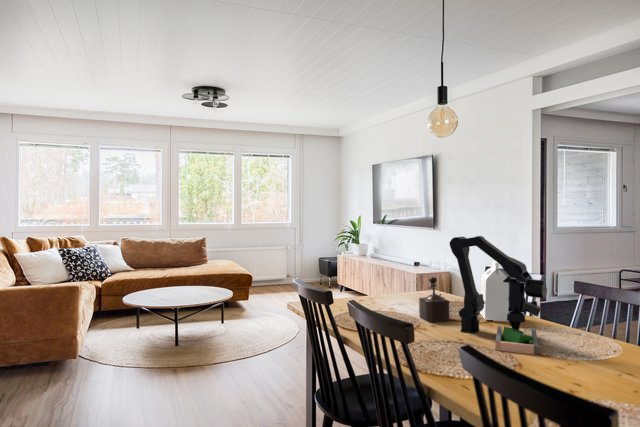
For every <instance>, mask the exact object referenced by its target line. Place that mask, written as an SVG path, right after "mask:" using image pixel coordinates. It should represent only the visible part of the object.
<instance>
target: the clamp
mask: <svg viewBox="0 0 640 427" xmlns="http://www.w3.org/2000/svg"><path fill="white" fill-rule="evenodd" d="M533 339H534V337H532V335H531V334H530V335H529V334H525V333H524V331H522V330H520V329H519V330H517V329H513V328H512V327H508V326H504V327H503V329H502V336H501V341H504V342H513V343H523V344H531V343H530V342H532V341H533Z"/></svg>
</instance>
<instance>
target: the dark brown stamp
mask: <svg viewBox="0 0 640 427" xmlns="http://www.w3.org/2000/svg"><path fill="white" fill-rule="evenodd" d="M428 281H429V283H430V286H429V287H427V289H428V290H432V294H430V295H428V296H425V297H419V298H418V306H419V307H418V309H419V310H418V311H419V319H421V320H424V321H425V322H427V323H442V322H444V323H445V322H450V300H448V299H446V298H445V297H444V296H442V294H441V293H440V294H437V293H436V287H437V284H436V283H437V282H438V280H437V277H435V276H434V277H433V276H432V277H430V278H429V279H428Z"/></svg>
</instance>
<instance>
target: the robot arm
mask: <svg viewBox="0 0 640 427" xmlns="http://www.w3.org/2000/svg"><path fill="white" fill-rule="evenodd" d="M449 247H450V250H451V253H452V254H453V256H455V259H456V260H457V265H458V269H459V272H460V276H461V281H462V286H463V290H464V295H463V307H462V308H461V309H460V310H458V315H459V317H460V318H461V320H460V321H461V322H460V324H461V325H460V332H461V333H462V332H463V333H471V334H477V333H478V331H480V319H479V318H478V316H479V315H480V311H482V310H483V308H484V304H485V302H484V300H483V294H481V293H480V292H478V291H477V287H476V283H475V280H474V276H473V270H472V267H471V263H470V262H471V261H470V258H469V257H470V256H469V255H470V250H471V249H470V247H477V248H478V249H479V250H481V251H482V252H483V253H485V255H488V257H490V258H492V260H493V261H496V262H498V263H499V266H500V267H501V268H502V270H503V271H504V272H505V273H506V274H507V275H508V276H507V278H506V279H505V280H503V282H506V283H509V297H508V301H509V306H508V312H509V313H508V314H507V321H506V322H508V321H509V322H508V323H509V324H510V328H513V329H517V330H520V326H521V324H522V323H526V314H525V313H529V314H531V315H533V316H535V317H538V316H539V314H540V312H541V310H542V308H541V306H540V305H538V302H537V300H531V301H527V300H526V297H525V296H527V297H530V298H539V299H546V297H547V293H548V287H547V284H546V280H545V279H535V278H534V279H533V277H532V276H531V275H530V273H529V272H528V269H527V265H526V263H524V262H522V261H520V260H518V259H516V258H513V257H511V256H509V255H508V254H506V253H504V252H503V251H502V250H501V249H499V248H497V247H496V246H495V245H494V244H492V243H491V242H490V241H489V240H487V239H486V238H485V237H484V236H483V235H477V236H474V237H466V236H457V237H456V236H455V237H453V238H451V239H450V241H449Z"/></svg>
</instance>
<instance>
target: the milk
mask: <svg viewBox="0 0 640 427" xmlns="http://www.w3.org/2000/svg"><path fill="white" fill-rule="evenodd" d="M507 277H508V276H507V275H506V274H504V272H503V271H502V270H501V269H500V264H499V263H498V262H496V261H495V260H493V261H492V264H491V267H490V268H488V269H486V270H485V272H484V273H482V274H481V281H480V284H481V285H480V294H483V300H484V302H485V304H484V308H483V310H482V311H480V314H481V315H482V316H483V318H484V319H485V320H486V319H487V320H493V321H492V322H508V323H510V322H509V321H507V314H508V313H509V312H508V306H509V301H508V297H509V283H506V282H503V280H505V279H506V278H507ZM480 314H479V315H480ZM481 315H480V316H481ZM482 316H481V317H482ZM483 318H482V319H483ZM484 319H483V320H484ZM485 320H484V321H485Z"/></svg>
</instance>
